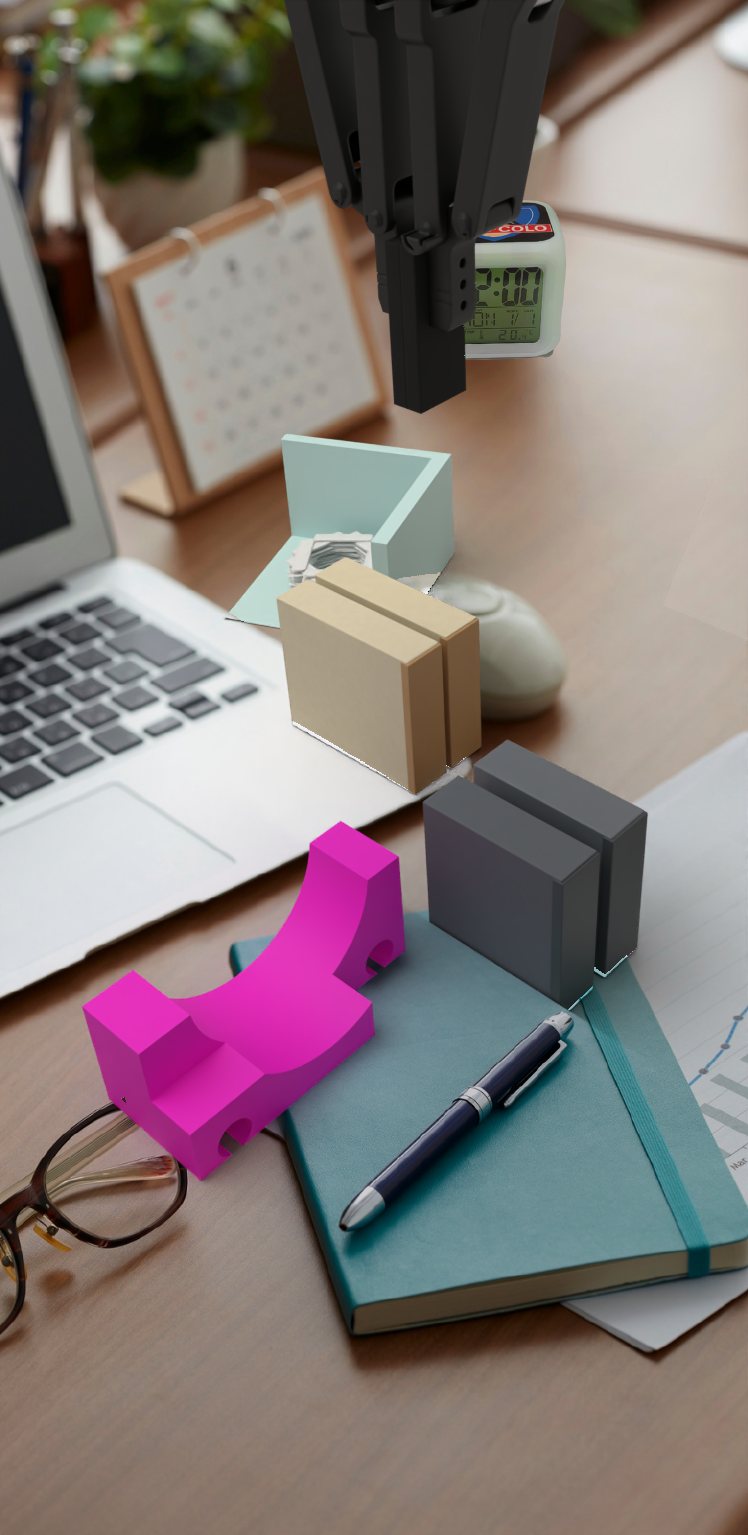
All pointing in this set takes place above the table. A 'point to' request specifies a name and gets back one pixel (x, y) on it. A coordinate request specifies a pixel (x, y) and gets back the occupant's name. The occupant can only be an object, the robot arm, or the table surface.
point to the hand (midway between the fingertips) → (430, 396)
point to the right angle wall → (356, 516)
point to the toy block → (256, 1012)
